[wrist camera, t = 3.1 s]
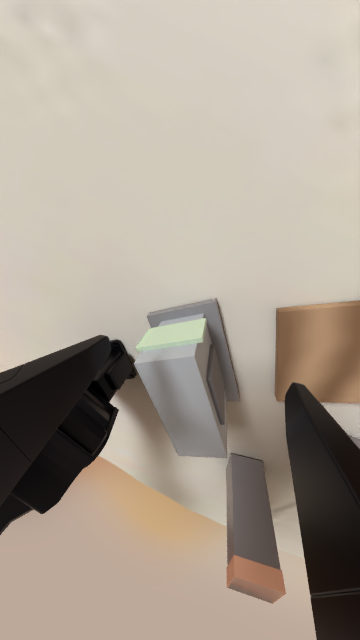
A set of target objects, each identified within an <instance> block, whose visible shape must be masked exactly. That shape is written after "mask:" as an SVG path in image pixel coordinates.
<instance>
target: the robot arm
mask: <svg viewBox="0 0 360 640" xmlns="http://www.w3.org/2000/svg"><path fill="white" fill-rule="evenodd" d="M116 343H117V344H116ZM135 377H136V372H135V370H134V368H133V366H132V364H131V362H130V360H129V358H128V356H127V354H126V352H125V350H124V348H123V346H122V344H121V342H120V341H119V340H111V341H109V338H108V337H107V336H104V335H99V336H96V337H93V338H91V339H88V340H86V341H83V342H80V343H78V344H75V345H72V346H70V347H67V348H65V349H62V350H59V351H57V352H54V353H52V354H49V355H46V356H44V357H41V358H38V359H36V360H33V361H31V362H28V363H25V364H23V365H20V366H17V367H15V368H12V369H9V370H7V371H4V372H1V373H0V535H1V533H2V532H3V531H4V530H5V529H6V528H7V527H8V525H9V524H10V523H11V522H12V521H14V520H16V519H18V518H20V517H21V516H23V515H25V514H27V513H28V512H30V511H32V510H36V511H37V512H39V513H40V514H43V513H45V512H46V511H48V510H49V509H50V508H52V507H53V506H54V505H56V504H57V503H58V502H59V501H60V499H61V497H62V496H63V495H64V493H65V492H66V490H67V489H68V487H69V486H70V485H71V483H72V482H73V481H74V479H75V478H76V477H77V476H78V474H79V473H80V472H81V471H82V469H83V468H85V467H87V466H88V465H90V464H91V462H93V461H94V460H95V459H96V457H97V456H98V455H99V454H100V452H101V451H102V449H103V448H104V446H105V444H106V443H107V440H108V438H109V436H110V433H111V430H112V427H113V424H114V422H115V419H116V416H117V413H118V411H119V410H118V409H117V408H116V407H114V406H113V405H111V404H110V403H109V402H110V400H111V399H112V397H113V396H114V394H115V393H116V391H117V390H119V389H120V387H121V386H122V384H123V383H124V381H125V380H126V379H132V378H135ZM285 422H286V438H287V445H288V452H289V458H290V465H291V471H292V478H293V485H294V491H295V498H296V504H297V511H298V518H299V524H300V531H301V537H302V544H303V551H304V557H305V564H306V570H307V577H308V583H309V590H310V595H311V604H312V611H313V617H314V624H315V631H316V637H317V640H360V448H359V447H358V446H357V445H356V444H355V443H354V442H353V440H352V439H351V438H350V437H349V436H348V435H347V433H346V432H345V431H344V430H343V429H342V428H341V427H340V425H339V424H338V423H337V422H336V421H335V420H334V418H333V417H332V416H331V415H330V414H329V413H328V412H327V410H326V409H325V408H324V407H323V406H322V405H321V404H320V402H319V401H318V400H317V399H316V398H315V397H314V395H313V394H312V393H311V392H310V391H309V390H308V389H307V387H306V386H305V385H303V384H300V383H296V382H292V383H291V385H290V387H289V389H288V390H287V392H286V394H285Z"/></svg>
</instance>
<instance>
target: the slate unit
mask: <svg viewBox="0 0 360 640" xmlns="http://www.w3.org/2000/svg"><path fill="white" fill-rule="evenodd" d="M147 318H148V321H149V323H150V326H151V328H150V329H149V330H148V331H147V333H146V334H145V335H144V337H143V338H142V340H141V341H140V342H139V344H138V345H137V347H136V351H137V352H139V351H142V352H141V353H140V355H139V356H138V358H137V360H136V361H135V363H134V365H135V367H136V369H137V371H138V373H139V375H140V377H141V379H142V382H143V384H144V386H145V388H146V390H147V392H148V394H149V396H150V398H151V400H152V402H153V404H154V406H155V408H156V411H157V413H158V415H159V417H160V419H161V421H162V423H163V425H164V427H165V429H166V431H167V433H168V435H169V437H170V439H171V442H172V444H173V446H174V448H175V450H176V452H177V454H178V456H195V457H215V458H227V409H226V401H239V393H238V388H237V384H236V380H235V376H234V372H233V367H232V363H231V359H230V355H229V350H228V346H227V342H226V338H225V334H224V329H223V325H222V321H221V317H220V312H219V308H218V304H217V300H216V299H211V300H206V301H202V302H197V303H192V304H188V305H183V306H178V307H174V308H169V309H165V310H160V311H155V312H151V313H149V314H148V315H147Z"/></svg>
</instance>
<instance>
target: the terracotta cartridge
mask: <svg viewBox="0 0 360 640" xmlns="http://www.w3.org/2000/svg"><path fill="white" fill-rule="evenodd" d="M226 483H227V559H228V560H227V562H228V566H227V588H230V589H233V590H235V591H238V592H241V593H244V594H247V595H250V596H252V597H255V598H258V599H261V600H263V601H266V602H269V603H274V602H275V601H277V600H278V599H279V598H281V597H282V596H284V595H285V594H286V592H285V586H284V580H283V574H282V570H281V569H280V563H279V557H278V552H277V545H276V539H275V533H274V527H273V521H272V515H271V509H270V503H269V497H268V491H267V485H266V479H265V473H264V467H263V461H259V460H255V459H251V458H247V457H242V456H238V455H234V454H231V456H230V459H229V462H228V466H227V469H226Z"/></svg>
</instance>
